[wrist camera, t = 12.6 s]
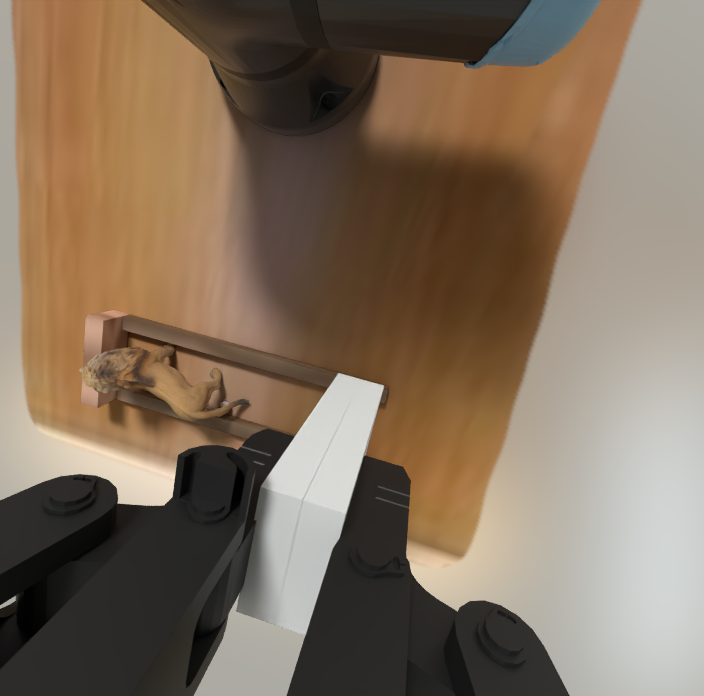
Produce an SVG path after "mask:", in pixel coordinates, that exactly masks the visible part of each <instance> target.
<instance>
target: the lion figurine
mask: <svg viewBox="0 0 704 696" xmlns="http://www.w3.org/2000/svg"><path fill="white" fill-rule="evenodd" d="M174 351H175V348H174V345H173V344H171V343H166V344H165V345H164V348H163V349H157V350H154V351H152V352H148V351H147V350H144V349H143V348H141V347H136V348H132V347H128V348H123V349H116V350H111V351H106V352H104V353H102V354H100V355H96V356H95V357H93V358H92V359H91V360H89V362H88V363H87V365H86V366H85V367H83V368H81V369H80V372H81V373H82V378H84V382H85V383H86V385H87V386H89V387H92V388H93V389H94V390H95V391H96V392H103V393H109V392H110V391H114V390H122V389H130V388H134V387H135V388H144V389H145V390H147V391H149V392H151V393H152V394H154V395H155V396H157V397H158V398H160V399H162V400H164V401H166V402H167V403H168V404H169V405H170V406H171V408H172V409H173V411H174V412H175V413H176V414H177V415H178V416H179V417H181V418H183V419H186V420H189V421H194V420H198V419H206V418H211V417H215V416H219V417H220V416H222V415H224V414H226V413H227V412H229V411H230V409H231V408H233V407H235V406H237V405H242V404H248V403H249V401H248V400H245V399H240V400H237V401H234V402H232V403H231V404H229V403H228V402H226V401H223V402H221V403H220V404H219V405H220V408H212V407H209V406H206V405H207V403H208V402H209V399H210V397H211V394H212V392H213V391H214V390H217V389H219V388H220V382H221V372H220V370H219V369H216V368H215V369H213V370H212V371H211V373H210V376H211V377H212V378H213V379H214V380H213V381H212V382H206V383H199V384H198V385H196V386H194V387H191V386H190V385H189V383H188V382H187V380H186V378H185V377H184V376H183V374H181V373H180V372H179V371H178V370H176V369H175V368H173V367H171V366H169V365H167V364H164V363H163V362H164V358H165V357H167V356H171V355H173V352H174Z"/></svg>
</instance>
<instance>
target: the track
mask: <svg viewBox="0 0 704 696" xmlns="http://www.w3.org/2000/svg"><path fill="white" fill-rule="evenodd" d="M128 331H129V332H132V333H136V334H140V335H143V336H147V337H150V338H154V339H157V340H161V341H164V342H168V343H171V344H175V345H178V346H182V347H185V348H189V349H193V350H196V351H200V352H203V353H207V354H210V355H214V356H217V357H221V358H224V359H228V360H231V361H235V362H238V363H242V364H245V365H249V366H253V367H256V368H260V369H263V370H267V371H270V372H274V373H277V374H281V375H284V376H288V377H291V378H295V379H298V380H302V381H306V382H309V383H313V384H316V385H320V386H323V387H327V388H329V386H330V385H331V383H332V382H333V380H334V379H335V378H336V376H337V375H338V372H334V371H331V370H327V369H323V368H320V367H316V366H313V365H309V364H306V363H302V362H298V361H295V360H291V359H288V358H284V357H280V356H277V355H273V354H270V353H266V352H262V351H259V350H255V349H252V348H248V347H244V346H241V345H237V344H234V343H230V342H227V341H223V340H219V339H216V338H212V337H209V336H205V335H201V334H198V333H194V332H191V331H187V330H183V329H180V328H176V327H173V326H169V325H165V324H162V323H158V322H155V321H151V320H147V319H144V318H140V317H137V316H133V315H130V314H126V313H122V312H119V311H115V310H111V311H106V312H102V313H97V314H92V315H87V316H86V324H85V342H84V359H83V367H85V366H86V365H87V363H88V362H89V360H91V359H92V358H93V357H95V356H96V355H100V354H102V353H104V352H106V351H111V350H116V349H123V348H127V339H128ZM340 374H341V373H340ZM344 375H345V374H344ZM347 376H349V375H347ZM351 377H352V376H351ZM354 378H356V377H354ZM358 379H359V378H358ZM362 380H363V379H362ZM365 381H367V380H365ZM369 382H370V381H369ZM372 383H374V382H372ZM376 384H377V383H376ZM380 385H381V384H380ZM383 386H384V388H383V392H382V396H381V400H380V403H383V404H385V401H386V397H387V394H388V390H389V387H388V386H385V385H383ZM115 399H117V400H120V401H124V402H127V403H130V404H133V405H137V406H140V407H143V408H147V409H150V410H153V411H157V412H160V413H163V414H166V415H170V416H173V417H176V418H180V419H183V418H181V417H179V416H178V415H177V414H176V413H175V412H174V411H173V409H172V408H171V406H170V405H169V404H168V403H167V402H166V401H164V400H162V399H160V398H158V397H157V396H155V395H154V394H152V393H151V392H149V391H146V390H142V389H139V388H135V387H134V388H130V389H122V390H114V391H110V392H109V393H103V392H96V391H95V390H94V389H93V388H92V387H89V386H87V385H86V383H85V382H84V378H82V395H81V403H83V404H86V405H89V406H92V407H96V408H98V407H100V406H102V405H104V404H106V403H109V402H111V401H113V400H115ZM183 420H186V419H183ZM186 421H189V420H186ZM190 422H193V423H196V424H199V425H203V426H206V427H209V428H213V429H216V430H219V431H223V432H226V433H229V434H232V435H236V436H239V437H242V438H246V439H248V438H249V437H250V436H251V435H252V434H255V433H257V432H259V431H262V430H264V429H267V428H269V429H272V430H276V429H273V428H270V427H266V426H263V425H260V424H256V423H253V422H250V421H246V420H243V419H240V418H236V417H233V416H230V415H226V414H224V415H222V416H220V417H219V416H215V417H211V418H206V419H198V420H194V421H190ZM276 431H279V432H282V433H286V434H289V435H292V436H296V435H293V434H290V433H287V432H283V431H280V430H276Z"/></svg>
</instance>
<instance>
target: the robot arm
mask: <svg viewBox="0 0 704 696" xmlns="http://www.w3.org/2000/svg"><path fill="white" fill-rule="evenodd" d="M141 1H143V2H144V3H145V4H146V5H147V6H149V7H150V8H151V9H152V10H153V11H154V12H156V13H157V14H158V15H159V16H160V17H162V18H163V19H164V20H165V21H166V22H167V23H169V24H170V25H171V26H172V27H173V28H174V29H176V30H177V31H178V32H179V33H180V34H182V35H183V36H184V37H185V38H186V39H187V40H189V41H190V42H191V43H192V44H193V45H195V46H196V47H197V48H198V49H199V50H200V51H202V52H203V53H204V54H205V55H206V56H207V57H208V59H209V60H210V64H211V67H212V69H213V72H214V74H215V76H216V79H217V81H218V83H219V85H220V87H221V88H222V90H223V92H224V93H225V94H226V96H227V97H228V98H229V100H230V101H231V102H232V103H233V105H234V106H235V107H236V108H237V109H238V110H239V111H241V112H242V113H243V114H244V115H245V116H247V117H248V118H249V119H251V120H252V121H254V122H255V123H256V124H258V125H260V126H261V127H263V128H265V129H267V130H269V131H272V132H275V133H278V134H283V135H290V136H301V135H309V134H313V133H317V132H320V131H322V130H325V129H327V128H329V127H331V126H333V125H334V124H336V123H337V122H339V121H340V120H341V119H343V118H344V117H345V116H346V115H347V114H348V113H349V112H350V111H351V110H352V109H353V108H354V107H355V106H356V105H357V103H358V102H359V101H360V99H361V98H362V96H363V95H364V93H365V92H366V90H367V88H368V86H369V84H370V82H371V79H372V77H373V74H374V71H375V68H376V65H377V61H378V56H379V55H384V56H395V57H405V58H416V59H427V60H437V61H448V62H458V63H464V65H465V67H466V68H472V69H476V68H480V67H483V66H485V65H498V66H521V67H528V66H534V65H538V64H541V63H543V62H545V61H546V60H548V59H549V58H551V57H552V56H554V55H555V54H557V53H559V52H560V51H562V50H563V49H564V48H565V47H566V46H567V45H568V44H569V43H570V42H571V41H572V40H573V39H574V38H575V36H576V35H577V34H578V33H579V32H580V30H581V29H582V28H583V27H584V25H585V24H586V22H587V21H588V20H589V18H590V17H591V16H592V14H593V13H594V11H595V10H596V8H597V7H598V5H599V3H600V2H601V0H141ZM383 388H384V386H383V385H380V384H376V383H372V382H369V381H365V380H362V379H358V378H354V377H351V376H347V375H344V374H340V373H338V375H337V376H336V378H335V379H334V380H333V382H332V383H331V385H330V386H329V388H328V389H327V391H326V392H325V394H324V395H323V396H322V398H321V399H320V401H319V402H318V404H317V405H316V407H315V408H314V410H313V411H312V413H311V414H310V415H309V417H308V418H307V420H306V421H305V423H304V424H303V426H302V427H301V429H300V430H299V431H298V433H297V434H296V436H292V435H289V434H286V433H282V432H279V431H276V430H272V429H269V428H267V429H264V430H262V431H259V432H257V433H255V434H252V435H251V436H250V437H249V438H248V439H247V440H246V441H245V443H244V444H243V445H242V447H240V448H239V449H238V450H236V449H234V448H230V447H225V446H219V445H207V446H199V447H195V448H191V449H188V450H186V451H185V452H183V453H181V454H179V455H178V460H177V468H176V475H175V483H174V491H173V497H172V498H171V499H170V500H169V501H168V502H167V503H166V504H165V505H164V506H142V505H129V504H117V502H118V495H117V488H116V487H115V486H114V485H113V484H112V483H111V482H110V481H109V480H106V479H103V478H101V477H98V476H93V475H82V474H78V475H69V476H61V477H58V478H54V479H51V480H48V481H45V482H42V483H40V484H37V485H35V486H33V487H30V488H28V489H26V490H24V491H21V492H19V493H17V494H14V495H12V496H10V497H7V498H5V499H3V500H0V605H1V604H3V603H4V602H6V601H8V600H9V599H11V598H12V597H14V596H16V601H15V602H13V603H12V604H10V605H8V606H6V607H4V608H1V609H0V696H194V694H195V692H196V690H197V688H198V686H199V684H200V682H201V680H202V678H203V676H204V674H205V672H206V670H207V668H208V666H209V664H210V662H211V661H212V658H213V657H214V655H215V653H216V651H217V649H218V647H219V645H220V643H221V641H222V639H223V636H224V632H225V629H226V625H227V620H228V614H229V612H230V610H231V608H232V606H233V604H234V602H235V601H236V599H237V597H238V595H239V593H240V595H239V600H238V606H237V610H236V611H237V612H239V613H242V614H245V615H248V616H251V617H254V618H257V619H259V620H262V621H266V622H268V623H271V624H274V625H277V626H279V627H282V628H285V629H288V630H291V631H294V632H296V633H299V634H303V635H305V639H304V642H303V645H302V648H301V651H300V655H299V658H298V661H297V664H296V667H295V671H294V674H293V677H292V680H291V683H290V687H289V690H288V693H287V696H569V694H568V692H567V690H566V688H565V686H564V684H563V682H562V680H561V678H560V676H559V675H558V672H557V671H556V669H555V667H554V665H553V663H552V661H551V659H550V657H549V655H548V653H547V651H546V649H545V647H544V645H543V644H542V643H541V641H540V640H539V638H538V637H537V635H536V634H535V632H534V631H533V630H532V629H531V628H530V627H529V626H528V625H527V624H526V623H525V622H524V621H523V620H522V619H521V618H520V617H518V616H517V615H516V614H514V613H512V612H511V611H509V610H507V609H506V608H504V607H502V606H501V605H497V604H494V603H491V602H487V601H470V602H468V603H466V604H465V605H463V606H461V607H460V608H459V610H458V612H457V611H455V610H454V609H452V608H451V607H449V606H448V605H446V604H444V603H443V602H441V601H439V600H438V599H436V598H435V597H434V596H432V595H431V594H430V593H428V592H427V591H426V590H425V589H424V588H423V587H422V586H421V585H420V584H419V583H418V582H417V581H416V579H415V578H414V576H413V575H412V573H411V570H410V564H409V561H408V560H407V558H406V545H407V530H408V515H409V509H408V508H409V500H410V497H409V496H410V485H411V480H410V479H409V477H408V475H407V473H406V471H405V469H404V468H403V467H401V466H398V465H395V464H391V463H388V462H385V461H381V460H378V459H375V458H371V457H368V456H365V455H366V452H367V448H368V444H369V441H370V437H371V433H372V429H373V426H374V422H375V418H376V414H377V411H378V407H379V403H380V400H381V396H382V392H383Z"/></svg>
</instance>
